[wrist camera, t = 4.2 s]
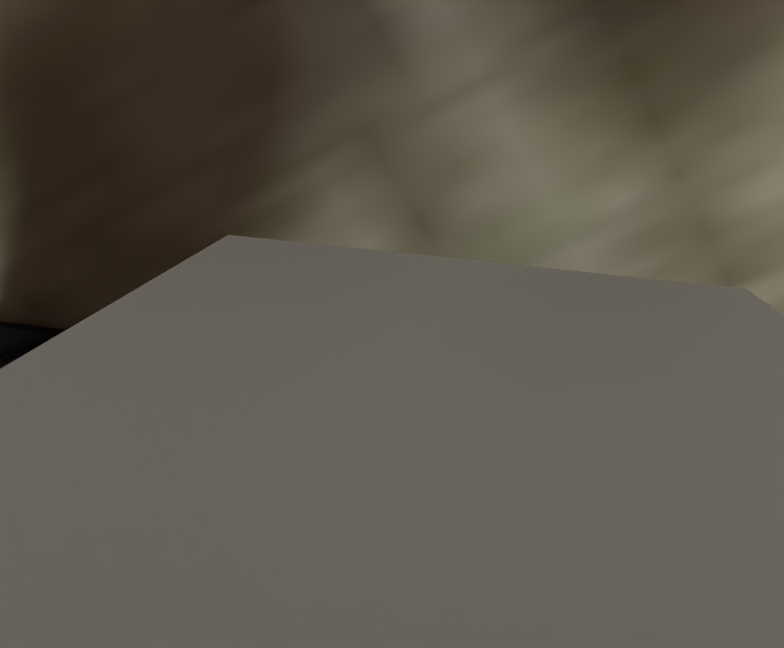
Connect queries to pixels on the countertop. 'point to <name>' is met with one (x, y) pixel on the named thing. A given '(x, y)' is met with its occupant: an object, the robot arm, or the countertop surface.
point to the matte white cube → (396, 460)
